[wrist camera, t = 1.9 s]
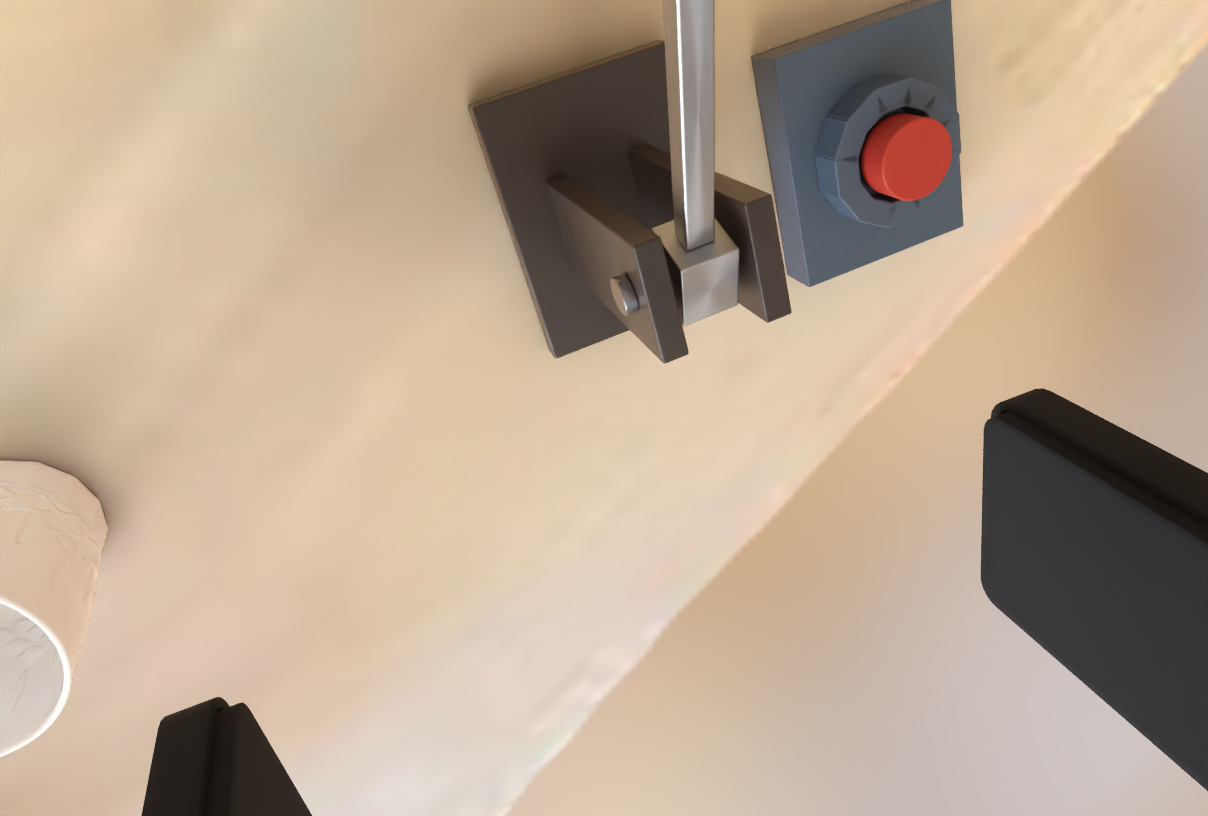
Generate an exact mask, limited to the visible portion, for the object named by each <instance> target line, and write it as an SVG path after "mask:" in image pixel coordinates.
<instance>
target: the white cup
mask: <svg viewBox="0 0 1208 816" xmlns="http://www.w3.org/2000/svg"><path fill="white" fill-rule="evenodd" d="M107 533H108V527H107V524H106V521H105V517H104V514H103V511H102V508H101V504H100V501H99V500H98V499H97V498H96V497H95V496H94V495H93V494H92V493H91V492H90V491H89V490H88V489H87V488H86V487H85V486H84V485H83V484H82V483H81V482H80V481H79V480H78V479H77V478H76V477H74V476H72V475H70V474H67V473H64V472H62V471H59V470H57V469H54V468H52V467H49V466H47V465H44V464H42V463H39V462H27V461H0V757H1V756H4V755H6V754H8V753H11V752H13V751H15V750H17V749H19V748H21V747H23V746H24V745H26V744H28V743H29V742H31V741H32V740H34V739H35V738H37V737H38V736H39V735H40V734H42V733H43V732H44V731H45V730H46V729H47V728H48V727H49V726H50V725H51V724H52V723H53V722H54V721H55V719H56V718H57V717H58V715H59V714H60V713H61V711H62V709H63V708H64V706H65V704H66V701H67V699H68V696H69V693H70V689H71V686H72V682H73V678H74V674H75V670H76V667H77V663H78V659H79V655H80V651H81V648H82V644H83V640H84V637H85V633H86V629H87V626H88V623H89V620H90V616H91V610H92V604H93V601H94V598H95V593H96V588H97V583H98V579H99V564H100V558H101V553H102V550H103V546H104V543H105V540H106V536H107Z"/></svg>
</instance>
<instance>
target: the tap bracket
mask: <svg viewBox="0 0 1208 816" xmlns="http://www.w3.org/2000/svg"><path fill="white" fill-rule="evenodd" d="M468 109H469V112H470V115H471V118H472V121H473V124H474V127H475V130H476V133H477V136H478V139H479V142H480V145H481V148H482V151H483V154H484V157H485V160H486V162H487V165H488V168H489V171H490V174H491V177H492V180H493V183H494V186H495V189H496V192H497V195H498V198H499V201H500V204H501V207H502V210H503V213H504V216H505V219H506V222H507V225H508V228H509V231H510V234H511V237H512V240H513V243H514V246H515V249H516V252H517V255H518V258H519V261H520V264H521V267H522V270H523V273H524V276H525V279H526V282H527V285H528V288H529V291H530V294H531V297H532V300H533V303H534V306H535V309H536V312H537V315H538V318H539V321H540V324H541V327H542V330H543V333H544V336H545V339H546V342H547V345H548V348H549V350H550V352H551V353H552V354H553V356H554V357H555V358H559V357H562V356H564V355H567V354H569V353H572V352H574V351H577V350H580V349H582V348H585V347H587V346H590V345H592V344H595V343H597V342H600V341H603V340H605V339H608V338H610V337H613V336H615V335H618V334H620V333H623V332H626V331H628V330H631V331H632V332H633V333H634V334H635V335H636V336H637V337H638V338H639V339H640V340H641V341H642V342H643V343H644V344H645V345H646V346H647V347H648V348H649V349H650V350H651V351H652V352H653V353H654V354H655V355H656V356H657V357H658V358H659V359H660V360H661V361H662V362H663V363H668V362H670V361H673V360H675V359H678V358H680V357H683V356H685V355H687V354H688V348H687V343H686V339H685V335H684V331H683V327H682V323H681V319H680V315H679V311H678V306H677V302H676V298H675V294H674V290H673V286H672V282H671V278H670V274H669V269H668V265H667V261H666V257H665V253H664V249H663V245H662V241H661V237H660V236H658V235H657V234H655V233H654V232H652V231H651V229H652V228H653V227H656V226H659V225H662V224H664V223H667V222H670V221H672V220H674V211H673V192H672V173H671V154H670V135H669V116H668V97H667V77H666V58H665V41H660V40H659V41H656V42H653V43H650V44H647V45H644V46H641V47H638V48H635V49H632V50H629V51H626V52H623V53H620V54H617V55H614V56H611V57H608V58H605V59H602V60H599V61H597V62H594V63H591V64H588V65H585V66H582V67H579V68H576V69H573V70H570V71H567V72H564V73H561V74H558V75H555V76H552V77H549V78H546V79H543V80H540V81H538V82H535V83H532V84H529V85H526V86H523V87H520V88H517V89H514V90H511V91H508V92H505V93H502V94H499V95H496V96H493V97H490V98H487V99H484V100H481V101H478V102H476V103H473V104H470V105H468ZM715 218H716V219H717V220H718V222H719V223H720V224H721V226H722V227H723V228H724V230H725V231H726V232H727V233H728V235H729V236H730V237H731V239H732V240H733V241H734V242H735V244H736V245H737V246H738V248H739V280H738V303H739V304H741V305H742V306H744V307H745V308H747V309H748V310H750V311H751V312H752V313H754V314H755V315H757V316H758V317H760V318H761V319H763V320H764V321H766V322H771V321H773V320H776V319H778V318H781V317H783V316H786V315H788V314H791V306H790V301H789V295H788V289H787V283H786V277H785V271H784V265H783V259H782V254H781V248H780V242H779V236H778V230H777V224H776V218H775V212H774V207H773V201H772V196H771V194H768V193H766V192H764V191H761V190H759V189H756V188H754V187H751V186H749V185H746V184H744V183H742V182H739V181H737V180H734V179H732V178H729V177H727V176H724V175H722V174H719V173H717V172H715Z"/></svg>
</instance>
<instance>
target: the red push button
mask: <svg viewBox="0 0 1208 816" xmlns="http://www.w3.org/2000/svg"><path fill="white" fill-rule="evenodd" d="M951 158H952V142H951V138H950V135H949V133H948V131H947V129H946V128H945V127H944V126H943V124H941V123H940V122H939V121H937V120H935V119H933V118H928V117H923V116H917V115H912V114H906V113H899V114H894V115H891V116H889V117H887V118H885V119H884V120H882V121H881V122H880V123H878V124H877V125H876V126H875V127H874V129H873V130H872V131H871V133H870V134H869V136H868V137H867V139H866V141H865V144H864V146H863V150H862V155H861V169H862V173H863V177H864V179H865V181H866V182H867V184H868V185H869V186H870V187H871V188H872V189H873V190H875V191H876V192H879V193H882V194H885V195H888V196H891V197H894V198H897V199H900V200H904V201H913V200H918V199H921V198H923V197H925V196H927V195H928V194H930V193H931V192H932V191H934V190H935V189H936V188H937V187H938V185H939V184H940V183H941V182H942V180H943V179H944V177H945V175H946V173H947V171H948V169H949V166H950V163H951Z"/></svg>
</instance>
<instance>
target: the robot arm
mask: <svg viewBox="0 0 1208 816" xmlns="http://www.w3.org/2000/svg"><path fill="white" fill-rule="evenodd" d="M983 452H984V453H983V495H982V542H981V582H982V585H983V589H984V591H985V593H986V595H987V596H988V598H989V599H990V601H991V602H992V603H993V604H994V605H995V606H996V607H997V608H998V609H1000V610H1001V611H1002V612H1003V613H1004V614H1005V615H1006V616H1008V617H1009V618H1010V619H1011V620H1012V621H1013V622H1015V624H1017V625H1018V626H1019V627H1020V628H1021V629H1023V630H1024V631H1025V632H1026V633H1027V634H1028V635H1029V636H1030V637H1032V638H1033V639H1034V640H1035V641H1036V642H1037V643H1038V644H1040V645H1041V646H1042V647H1043V648H1044V649H1045V650H1047V651H1048V652H1049V653H1050V654H1051V655H1053V657H1055V658H1056V659H1057V660H1058V661H1059V662H1060V663H1061V664H1063V665H1064V666H1065V667H1066V668H1067V669H1068V670H1069V671H1071V672H1072V673H1073V674H1074V675H1075V676H1076V677H1078V678H1079V679H1080V680H1081V681H1082V682H1083V683H1084V684H1086V685H1087V686H1088V687H1089V688H1090V689H1091V690H1092V691H1094V692H1095V693H1096V694H1097V695H1098V696H1099V697H1100V698H1102V699H1103V700H1104V701H1105V702H1106V703H1107V704H1109V705H1110V706H1111V707H1112V708H1113V709H1114V710H1115V711H1117V712H1118V713H1119V714H1120V715H1121V716H1122V717H1123V718H1125V719H1126V720H1127V721H1128V722H1129V723H1130V724H1131V725H1133V726H1134V727H1135V728H1136V729H1137V730H1138V731H1139V732H1141V733H1142V734H1143V735H1144V736H1145V737H1146V738H1148V739H1149V740H1150V741H1151V742H1152V743H1153V744H1154V745H1156V746H1157V747H1158V748H1159V749H1160V750H1161V751H1162V752H1164V753H1165V754H1166V755H1167V756H1168V757H1169V758H1170V759H1172V760H1173V761H1174V762H1175V763H1176V764H1178V765H1179V766H1180V767H1181V768H1182V769H1183V770H1184V771H1185V772H1187V773H1188V774H1189V775H1190V776H1191V777H1192V778H1193V779H1195V780H1196V781H1197V782H1198V783H1199V784H1200V785H1202V786H1203V787H1204V788H1205V789H1206V790H1207V791H1208V473H1206V472H1205V471H1202V470H1201V469H1199V468H1197V467H1195V466H1193V465H1191V464H1189V463H1187V462H1185V461H1183V460H1182V459H1180V458H1178V457H1176V456H1174V455H1172V454H1170V453H1168V452H1166V451H1164V450H1162V449H1161V448H1159V447H1157V446H1155V445H1153V444H1151V443H1149V442H1147V441H1145V440H1143V439H1141V438H1139V437H1138V436H1136V435H1133V434H1131V433H1130V432H1128V431H1126V430H1124V429H1122V428H1120V427H1118V426H1116V425H1114V424H1113V423H1110V422H1109V421H1107V420H1105V419H1103V418H1101V417H1099V416H1097V415H1095V414H1093V413H1092V412H1090V411H1088V410H1086V409H1084V408H1082V407H1080V406H1078V405H1076V404H1074V403H1072V402H1070V401H1068V400H1067V399H1065V398H1063V397H1061V396H1059V395H1057V394H1055V393H1053V392H1051V391H1049V390H1046V389H1034V390H1032V391H1029V392H1026V393H1024V394H1021V395H1019V396H1016V397H1013V398H1011V399H1008V400H1006V401H1003V402H1000V403H999V404H997V405H996V406H995V407H994V409H993V410H992V414H991V419H989V420H987V422H986V423H985V427H984V449H983ZM142 816H312V815H311V813H310V811H309V810H308V808H307V806H306V804H305V803H304V801H303V799H302V798H301V796H300V794H299V793H298V791H297V789H296V787H295V786H294V784H293V782H292V781H291V779H290V777H289V775H288V774H287V772H286V770H285V769H284V767H283V765H282V764H281V762H280V760H279V758H278V757H277V755H276V753H275V752H274V750H273V748H272V747H271V745H270V743H269V741H268V740H267V738H266V736H265V735H264V733H263V731H262V730H261V728H260V726H259V724H258V723H257V721H256V719H255V718H254V716H253V714H252V713H251V711H250V709H249V708H248V707H247V705H245V704H244V703H239V704H236V705H234V706H231V707H230V706H229V705H228V704H227V702H226V701H225V700H224V699H222V698H221V697H216V698H213V699H211V700H208V701H205V702H203V703H200V704H197V705H195V706H192V707H189V708H187V709H184V710H181V711H179V712H176V713H174V714H171V715H168V716H166V717H164V718H163V719H162V720H161V722H160V725H159V728H158V733H157V738H156V743H155V748H154V754H153V759H152V764H151V769H150V774H149V780H148V785H147V790H146V795H145V801H144V806H143V811H142Z"/></svg>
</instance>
